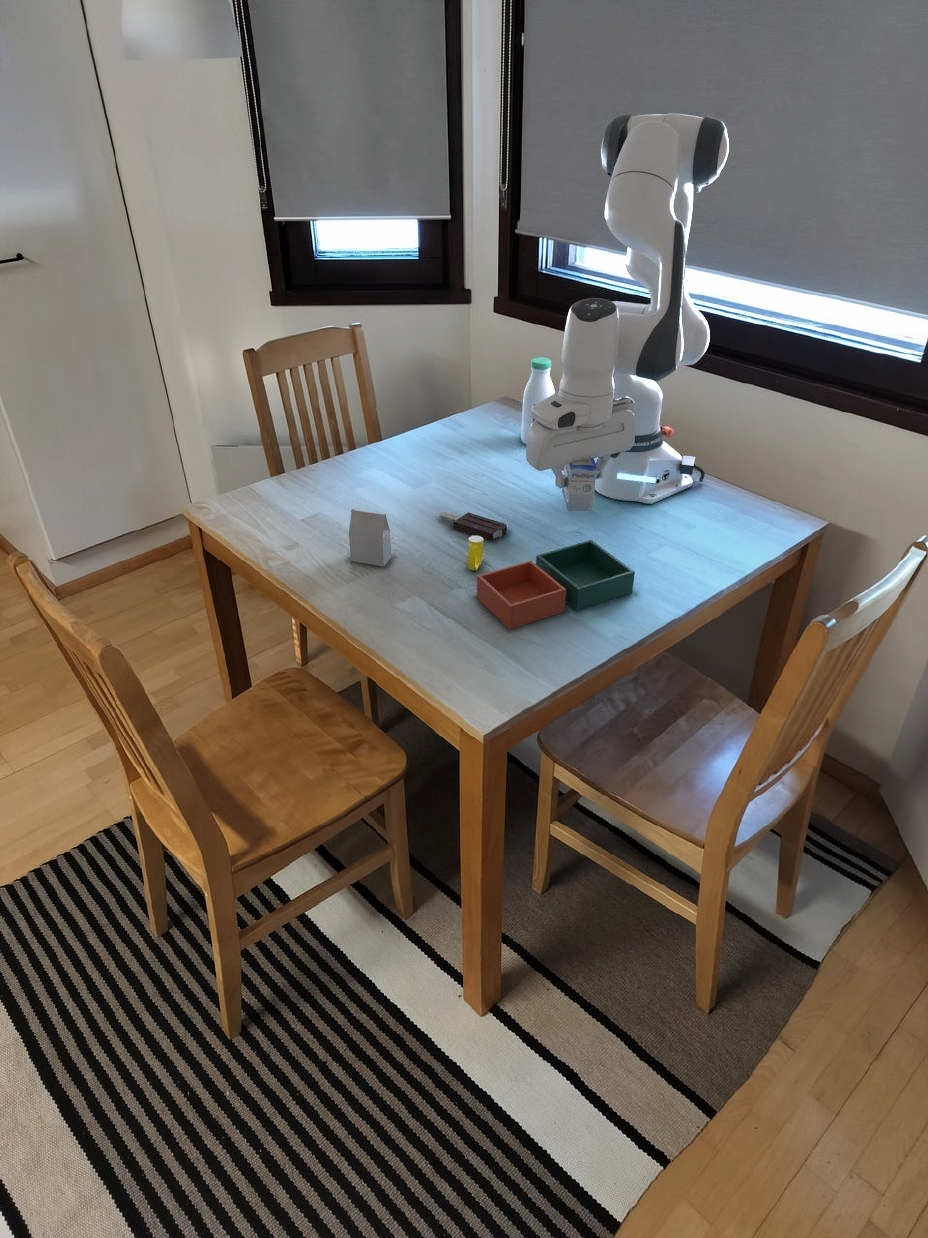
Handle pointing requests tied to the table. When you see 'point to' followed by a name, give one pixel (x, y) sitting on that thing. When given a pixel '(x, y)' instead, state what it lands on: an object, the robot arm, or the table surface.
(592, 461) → the medicine box
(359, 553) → the tea bag
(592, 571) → the green bin
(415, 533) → the table surface
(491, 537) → the ice cream bar
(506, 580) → the terracotta bin
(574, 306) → the robot arm
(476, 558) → the watch
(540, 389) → the milk bottle
